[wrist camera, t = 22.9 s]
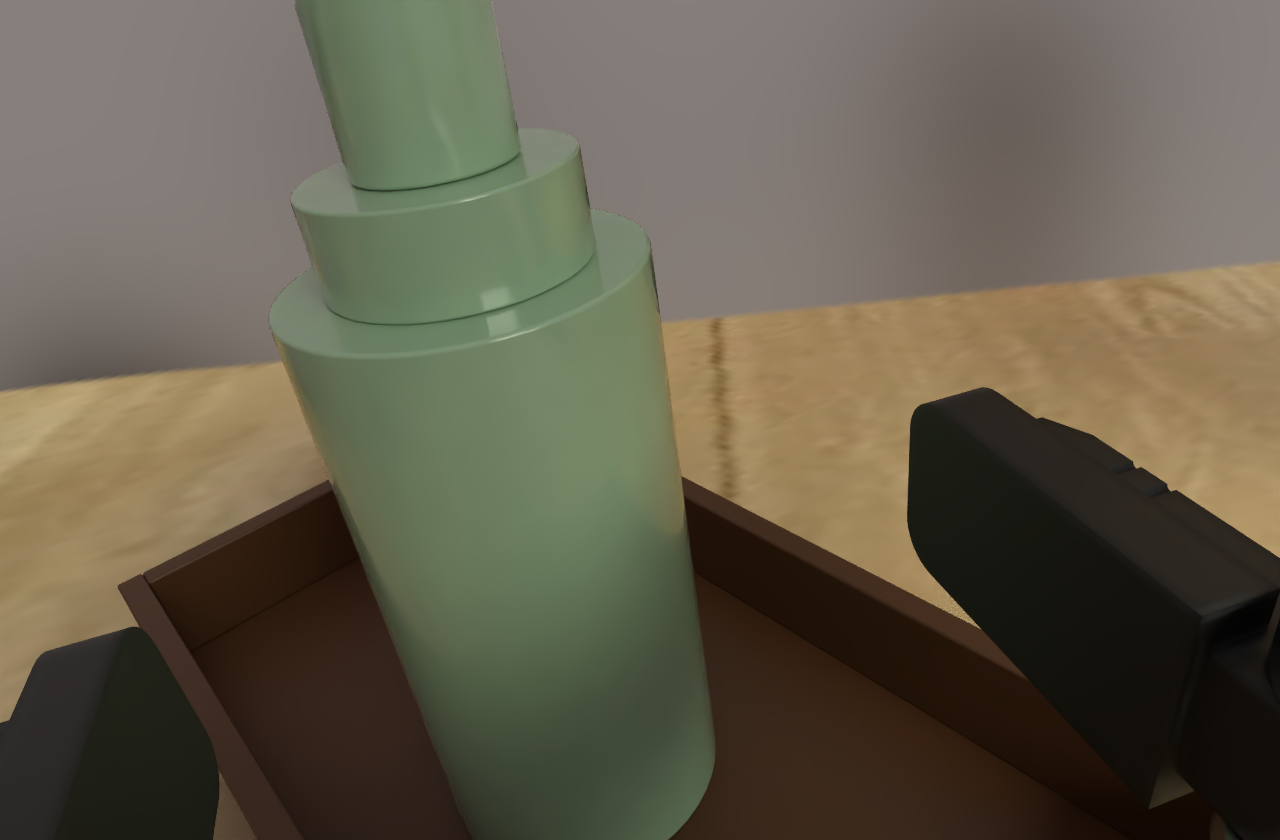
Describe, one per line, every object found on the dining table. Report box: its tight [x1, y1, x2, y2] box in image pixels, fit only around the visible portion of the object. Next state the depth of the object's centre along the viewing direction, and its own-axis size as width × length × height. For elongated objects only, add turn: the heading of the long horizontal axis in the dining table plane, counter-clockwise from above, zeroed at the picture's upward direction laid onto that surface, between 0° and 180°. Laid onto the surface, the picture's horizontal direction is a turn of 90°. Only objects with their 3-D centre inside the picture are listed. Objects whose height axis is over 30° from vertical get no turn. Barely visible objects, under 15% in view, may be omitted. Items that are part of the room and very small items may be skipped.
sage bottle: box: [268, 0, 716, 840], centre depth 14 cm, size 6×6×16 cm
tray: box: [118, 476, 1214, 840], centre depth 18 cm, size 12×22×3 cm, turn 42°
